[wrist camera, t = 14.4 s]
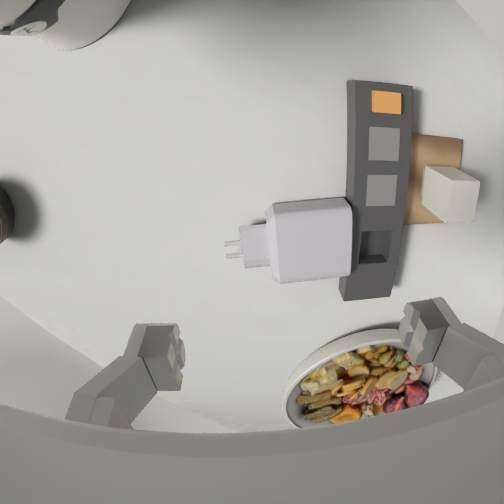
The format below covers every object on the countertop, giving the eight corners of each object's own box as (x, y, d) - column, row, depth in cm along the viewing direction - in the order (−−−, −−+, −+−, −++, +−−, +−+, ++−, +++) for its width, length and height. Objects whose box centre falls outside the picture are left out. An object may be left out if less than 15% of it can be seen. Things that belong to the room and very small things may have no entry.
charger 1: (220, 207, 39) (341, 195, 38) (231, 271, 43) (341, 259, 43) (217, 223, 35) (353, 209, 34) (229, 292, 39) (350, 278, 38)
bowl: (268, 418, 61) (269, 449, 55) (299, 314, 47) (307, 351, 40) (391, 413, 63) (400, 440, 57) (452, 319, 49) (471, 347, 42)
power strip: (346, 80, 31) (357, 80, 28) (400, 85, 31) (415, 86, 28) (338, 288, 45) (345, 304, 41) (383, 284, 44) (392, 299, 41)
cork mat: (403, 133, 34) (406, 134, 33) (459, 138, 34) (462, 139, 33) (396, 222, 40) (398, 224, 39) (448, 220, 39) (451, 222, 39)
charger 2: (419, 162, 35) (451, 180, 28) (447, 163, 35) (480, 181, 28) (416, 199, 37) (444, 223, 31) (442, 199, 37) (473, 222, 31)
